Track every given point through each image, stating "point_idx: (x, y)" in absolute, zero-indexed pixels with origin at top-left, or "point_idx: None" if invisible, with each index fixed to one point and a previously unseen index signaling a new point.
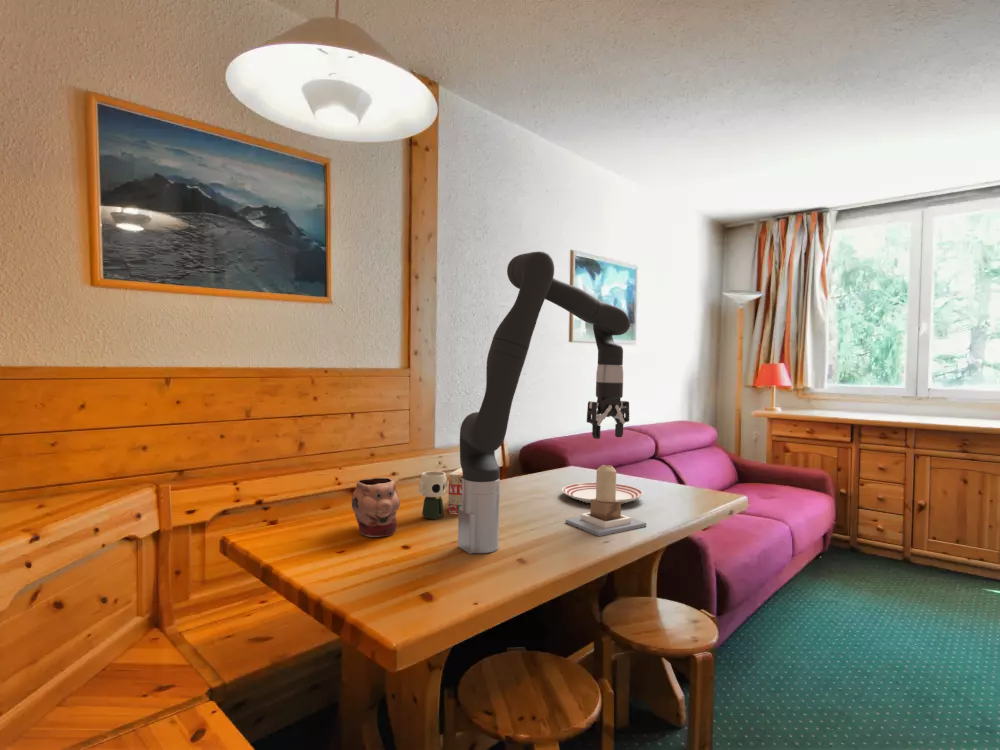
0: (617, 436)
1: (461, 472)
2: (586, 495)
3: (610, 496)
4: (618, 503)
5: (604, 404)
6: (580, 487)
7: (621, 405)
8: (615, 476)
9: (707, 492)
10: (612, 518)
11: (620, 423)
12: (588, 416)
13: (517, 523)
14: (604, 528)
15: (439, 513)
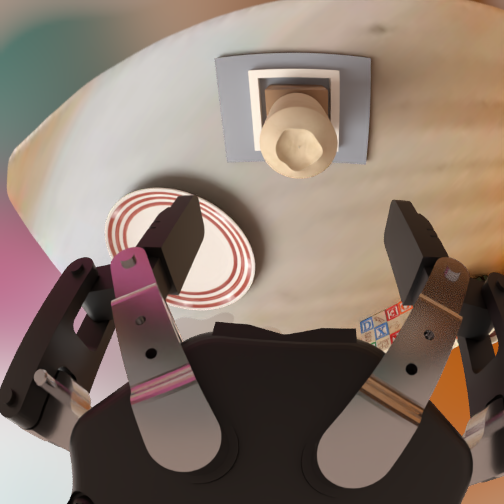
0: (201, 217)
1: (456, 340)
2: (201, 269)
3: (304, 95)
4: (275, 89)
5: (420, 481)
6: (189, 298)
7: (74, 415)
8: (281, 106)
9: (21, 206)
10: (297, 85)
11: (154, 264)
12: (490, 354)
13: (433, 207)
14: (339, 70)
15: (483, 281)
